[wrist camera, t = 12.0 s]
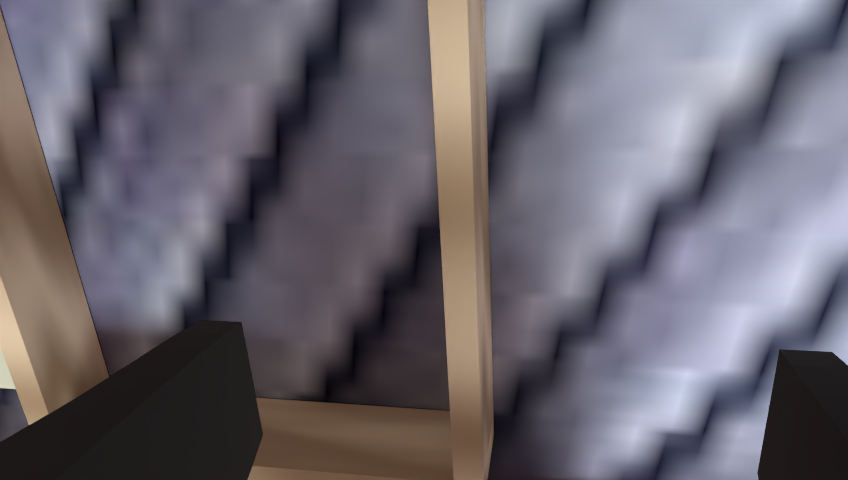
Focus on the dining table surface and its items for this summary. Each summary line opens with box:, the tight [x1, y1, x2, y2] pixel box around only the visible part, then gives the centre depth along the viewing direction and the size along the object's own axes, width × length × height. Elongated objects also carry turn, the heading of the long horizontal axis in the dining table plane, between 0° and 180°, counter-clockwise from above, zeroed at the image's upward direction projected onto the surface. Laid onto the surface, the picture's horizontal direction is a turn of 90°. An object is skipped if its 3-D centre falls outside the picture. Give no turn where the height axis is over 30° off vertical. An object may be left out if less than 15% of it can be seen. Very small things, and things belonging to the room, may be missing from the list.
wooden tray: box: [0, 0, 494, 480], centre depth 20 cm, size 18×14×3 cm
